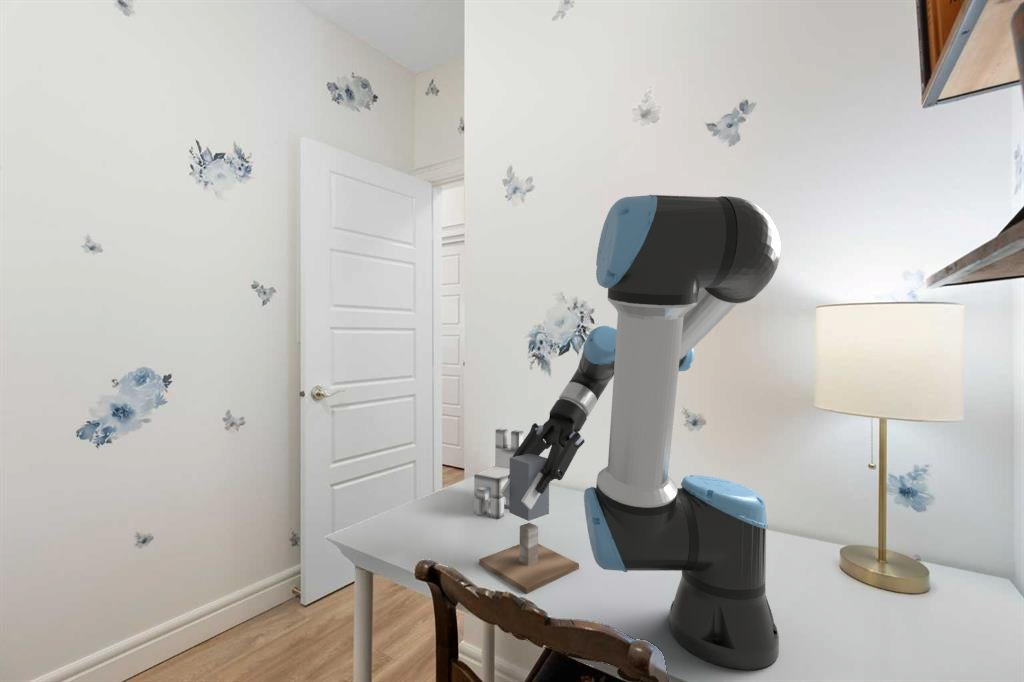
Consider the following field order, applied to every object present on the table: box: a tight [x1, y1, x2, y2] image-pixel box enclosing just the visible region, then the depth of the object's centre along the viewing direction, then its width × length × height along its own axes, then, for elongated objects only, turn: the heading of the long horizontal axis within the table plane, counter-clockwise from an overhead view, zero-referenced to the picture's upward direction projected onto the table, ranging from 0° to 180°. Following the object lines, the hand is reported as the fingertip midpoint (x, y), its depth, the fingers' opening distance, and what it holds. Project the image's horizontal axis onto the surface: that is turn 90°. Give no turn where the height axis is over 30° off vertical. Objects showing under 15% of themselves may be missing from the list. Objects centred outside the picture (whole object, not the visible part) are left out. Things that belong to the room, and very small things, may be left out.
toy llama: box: [473, 427, 525, 520], centre depth 123 cm, size 8×18×20 cm, turn 150°
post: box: [478, 522, 580, 594], centre depth 91 cm, size 14×14×8 cm
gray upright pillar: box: [508, 454, 550, 522], centre depth 92 cm, size 6×6×11 cm
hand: (515, 500), depth 90 cm, fingers closed on gray upright pillar, 6 cm apart
